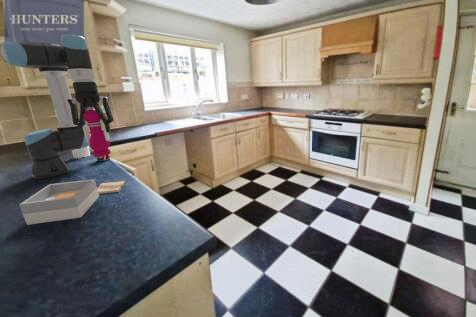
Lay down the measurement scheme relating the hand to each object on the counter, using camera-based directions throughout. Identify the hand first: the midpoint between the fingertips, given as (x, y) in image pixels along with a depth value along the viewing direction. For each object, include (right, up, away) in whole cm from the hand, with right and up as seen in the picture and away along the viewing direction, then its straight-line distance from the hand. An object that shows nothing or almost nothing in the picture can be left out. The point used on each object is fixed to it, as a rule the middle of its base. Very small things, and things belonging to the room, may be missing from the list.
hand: (98, 141), depth 90 cm
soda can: (-28, -8, +49) cm, 57 cm away
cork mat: (+1, -20, +7) cm, 21 cm away
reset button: (-6, -25, -9) cm, 28 cm away
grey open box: (-6, -26, -9) cm, 28 cm away
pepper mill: (0, -6, +2) cm, 6 cm away
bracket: (-48, -4, +67) cm, 83 cm away
